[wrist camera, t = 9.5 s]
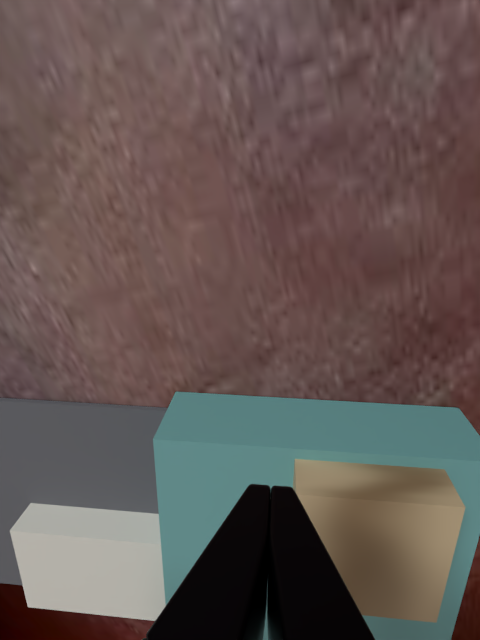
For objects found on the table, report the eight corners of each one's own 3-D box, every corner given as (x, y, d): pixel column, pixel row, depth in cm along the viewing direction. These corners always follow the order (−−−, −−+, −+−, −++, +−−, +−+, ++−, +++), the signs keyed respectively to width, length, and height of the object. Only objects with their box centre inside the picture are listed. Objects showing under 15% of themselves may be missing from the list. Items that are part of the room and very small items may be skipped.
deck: (458, 407, 20) (499, 462, 16) (408, 631, 25) (431, 710, 22) (175, 391, 21) (152, 439, 17) (186, 608, 27) (171, 679, 23)
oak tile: (444, 469, 16) (465, 507, 15) (420, 577, 18) (436, 622, 17) (294, 458, 17) (296, 494, 15) (287, 564, 19) (288, 607, 17)
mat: (176, 408, 21) (175, 411, 21) (186, 597, 26) (185, 601, 26) (-55, 394, 23) (-59, 397, 22) (-5, 577, 27) (-8, 581, 27)
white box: (179, 515, 24) (170, 545, 22) (183, 589, 26) (175, 622, 24) (30, 502, 24) (9, 530, 22) (45, 576, 26) (27, 606, 24)
